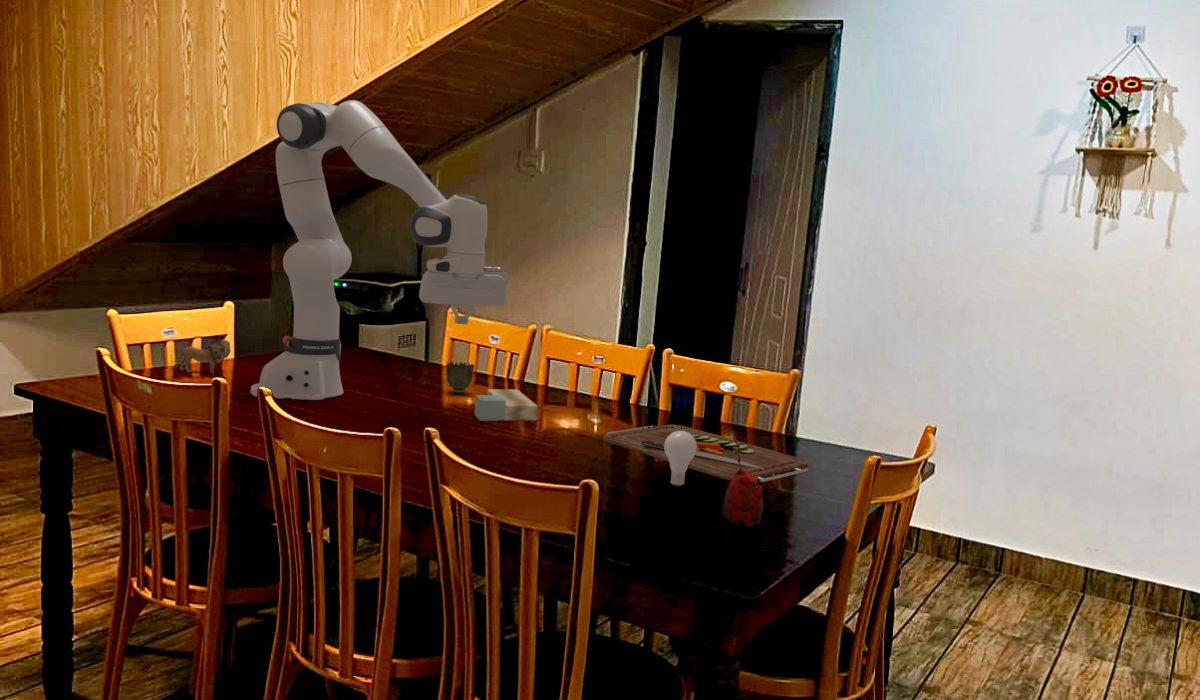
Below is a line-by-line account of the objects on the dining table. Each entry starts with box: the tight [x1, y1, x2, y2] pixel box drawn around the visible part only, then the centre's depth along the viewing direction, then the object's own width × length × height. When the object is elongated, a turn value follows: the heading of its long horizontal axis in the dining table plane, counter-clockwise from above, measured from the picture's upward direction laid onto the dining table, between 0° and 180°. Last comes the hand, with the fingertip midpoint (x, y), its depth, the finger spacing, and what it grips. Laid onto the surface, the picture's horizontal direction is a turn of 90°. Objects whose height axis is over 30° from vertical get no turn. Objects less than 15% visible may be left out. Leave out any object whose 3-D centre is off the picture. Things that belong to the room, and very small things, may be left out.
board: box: [486, 388, 539, 421], centre depth 258 cm, size 8×20×4 cm, turn 19°
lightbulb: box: [664, 431, 697, 488], centre depth 201 cm, size 6×6×11 cm
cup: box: [445, 361, 475, 396], centre depth 274 cm, size 8×7×8 cm
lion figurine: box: [171, 339, 231, 374], centre depth 277 cm, size 15×5×9 cm, turn 105°
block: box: [474, 394, 506, 422], centre depth 249 cm, size 6×6×5 cm
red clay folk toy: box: [722, 437, 764, 528], centre depth 182 cm, size 8×7×15 cm
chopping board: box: [602, 424, 809, 483], centre depth 231 cm, size 45×27×3 cm, turn 45°
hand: (461, 323), depth 243 cm, fingers closed
